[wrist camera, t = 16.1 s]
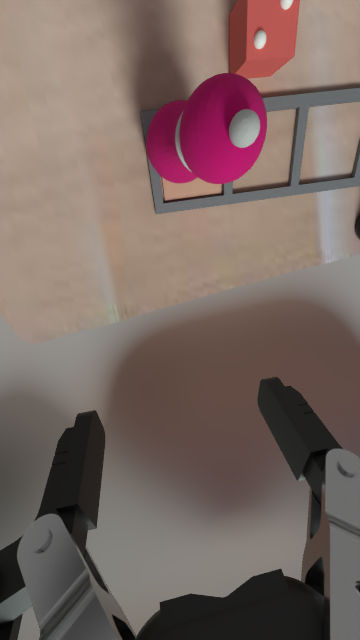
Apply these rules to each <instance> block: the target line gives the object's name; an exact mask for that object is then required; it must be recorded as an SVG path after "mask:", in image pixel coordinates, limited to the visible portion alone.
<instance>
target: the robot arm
mask: <svg viewBox="0 0 360 640" xmlns="http://www.w3.org/2000/svg"><path fill="white" fill-rule="evenodd" d="M258 406H259V409H260V412H261V413H262V415H263V417H264V419H265V421H266V423H267V425H268V427H269V428H270V430H271V432H272V434H273V436H274V438H275V440H276V442H277V443H278V445H279V447H280V449H281V451H282V453H283V455H284V457H285V459H286V461H287V462H288V464H289V466H290V468H291V470H292V472H293V474H294V476H295V477H296V479H297V481H302V480H307V482H308V484H309V486H310V490H309V506H308V523H307V539H306V545H305V550H304V554H303V561H302V574H301V581H299V580H297V579H294V578H291V577H288V576H284V575H283V572H282V570H281V569H278V570H275V571H271V572H268V573H264V574H260V575H257V576H253V577H251V578H250V579H249V580H248V581H246V582H245V583H244V584H242V585H241V586H240V587H239V588H237V589H236V590H235V591H233V592H232V593H231V594H230V595H228V596H227V597H224V598H221V597H213V596H204V595H197V594H188V595H184V596H181V597H177V598H174V599H170V600H166V601H163V602H160V610H159V611H157V612H156V613H155V614H154V615H153V616H152V617H151V618H150V619H149V620H148V621H147V622H146V624H145V625H144V626H143V627H142V629H141V630H140V632H139V633H138V635H137V636H136V634H135V632H134V630H133V628H132V627H131V625H130V623H129V621H128V619H127V617H126V615H125V614H124V612H123V610H122V609H121V607H120V605H119V604H118V602H117V601H116V599H115V598H114V596H113V595H112V593H111V591H110V589H109V588H108V586H107V584H106V582H105V581H104V578H103V576H102V575H101V573H100V571H99V569H98V567H97V565H96V563H95V562H94V560H93V558H92V556H91V555H90V552H89V550H88V548H87V547H86V540H87V532H88V530H91V529H96V528H97V518H98V508H99V498H100V488H101V479H102V469H103V459H104V449H105V431H104V428H103V425H102V423H101V421H100V419H99V416H98V414H97V412H96V411H95V410H94V411H89V412H83V413H79V414H78V415H77V417H76V420H75V425H74V427H72V428H67V429H66V430H65V431H64V433H63V434H62V436H61V438H60V439H59V441H58V444H57V448H56V451H55V456H54V459H53V462H52V467H51V470H50V474H49V477H48V480H47V484H46V488H45V492H44V495H43V499H42V502H41V506H40V509H39V513H38V515H37V517H36V519H35V521H34V522H33V523H32V524H31V525H30V526H29V528H28V529H27V530H26V532H25V533H24V535H23V536H22V537H20V538H19V539H18V540H17V541H15V542H14V543H12V544H10V545H9V546H7V547H5V548H4V549H2V550H0V640H17V638H18V634H19V629H20V624H21V619H22V614H23V613H24V612H25V611H26V610H28V609H29V608H30V607H32V606H33V609H34V612H35V615H36V618H37V621H38V624H39V628H40V638H39V640H360V458H358V457H357V456H356V455H354V454H353V453H351V452H349V451H346V450H344V449H343V448H342V447H341V446H340V445H339V444H338V443H337V441H336V440H335V439H334V437H333V436H332V435H331V433H330V432H329V431H328V429H327V428H326V427H325V426H324V424H323V423H322V422H321V420H320V419H319V418H318V416H317V415H316V414H315V413H314V411H313V410H312V408H311V407H310V406H309V405H308V403H307V402H306V400H305V399H304V398H303V396H302V395H301V394H300V393H299V392H298V391H296V390H295V389H294V388H292V387H291V386H286V387H285V386H284V385H283V383H282V382H281V380H280V379H279V378H278V377H272V378H267V379H262V380H261V381H260V387H259V393H258Z"/></svg>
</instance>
